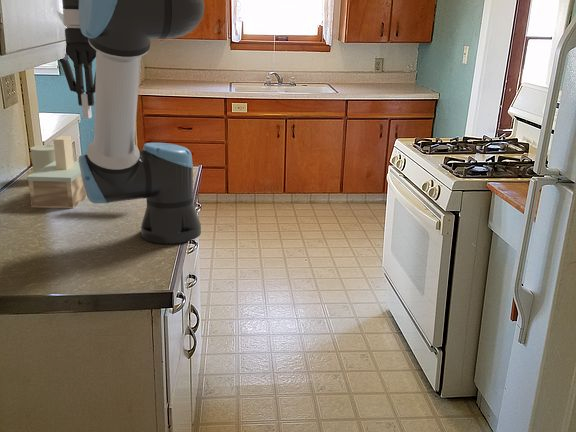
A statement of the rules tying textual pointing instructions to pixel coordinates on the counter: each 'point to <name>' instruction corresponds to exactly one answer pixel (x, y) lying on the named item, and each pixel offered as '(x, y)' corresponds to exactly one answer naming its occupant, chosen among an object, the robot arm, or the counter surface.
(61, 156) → the lid
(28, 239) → the counter surface
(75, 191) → the light wood open box
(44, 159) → the can
